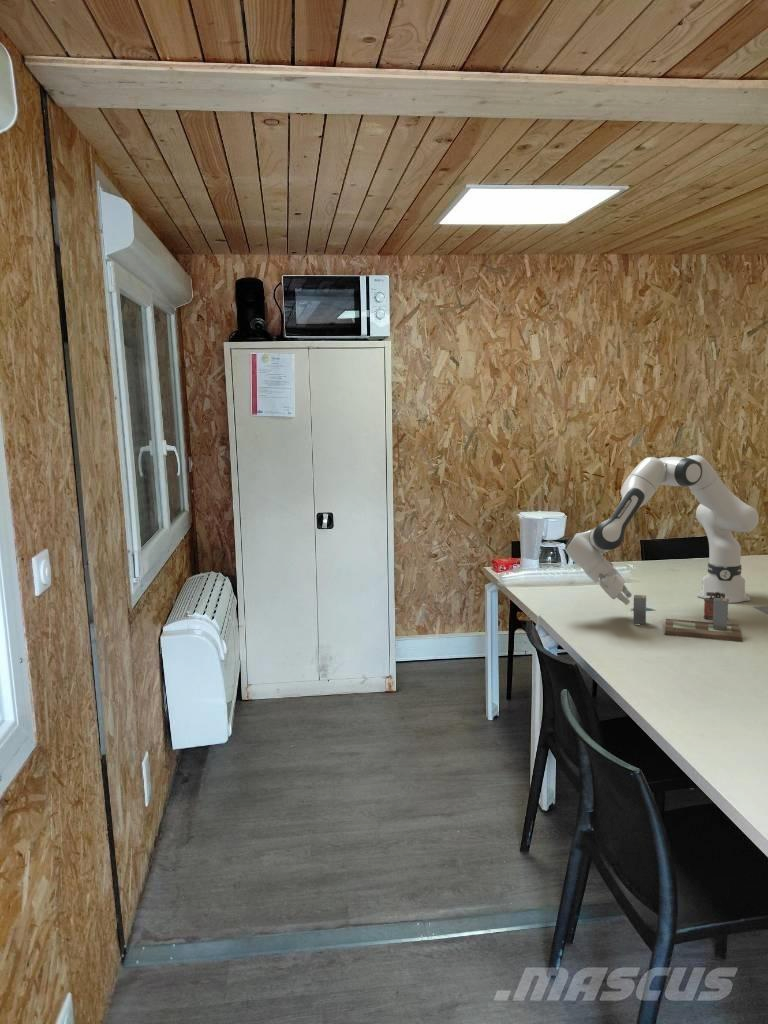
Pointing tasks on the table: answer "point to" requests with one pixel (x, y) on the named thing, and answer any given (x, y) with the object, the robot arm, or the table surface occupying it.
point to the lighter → (711, 604)
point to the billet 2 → (720, 614)
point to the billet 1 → (639, 609)
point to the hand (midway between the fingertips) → (629, 599)
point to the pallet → (701, 630)
